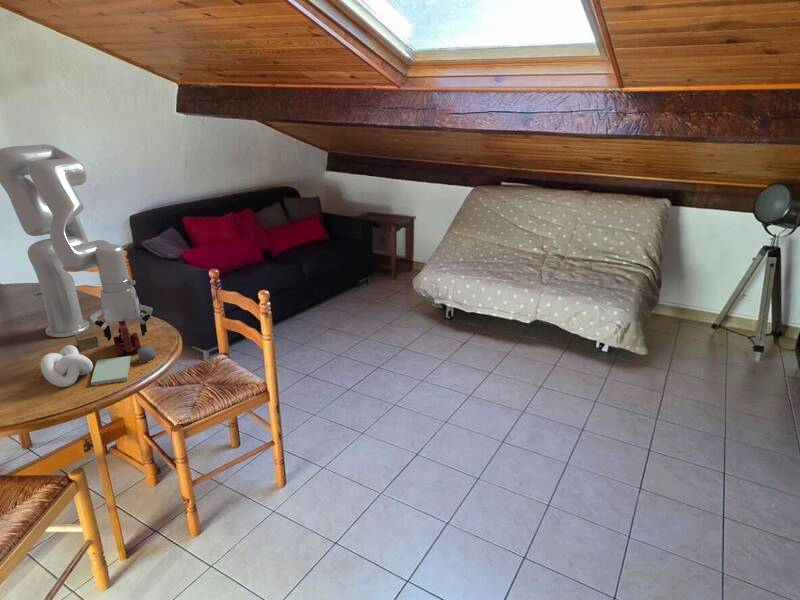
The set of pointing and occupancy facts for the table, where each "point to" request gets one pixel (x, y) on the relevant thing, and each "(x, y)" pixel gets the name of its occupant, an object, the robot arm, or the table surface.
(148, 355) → the grey rounded pebble
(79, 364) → the white knot
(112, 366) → the board
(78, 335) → the walnut block
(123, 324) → the red wheeled piece
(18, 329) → the table surface
